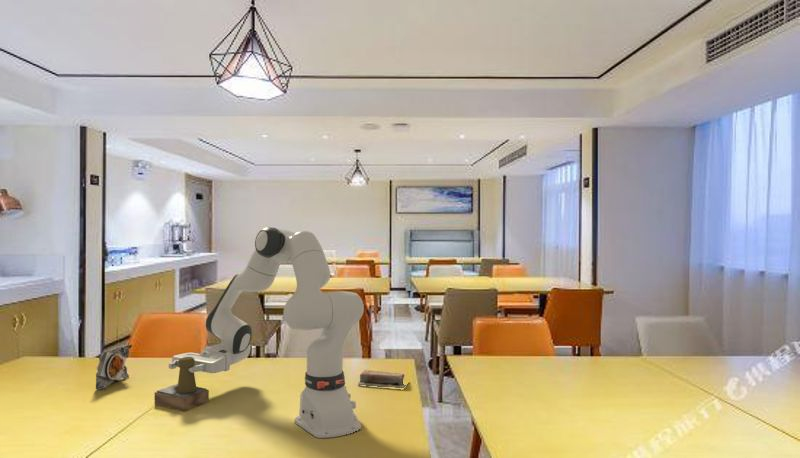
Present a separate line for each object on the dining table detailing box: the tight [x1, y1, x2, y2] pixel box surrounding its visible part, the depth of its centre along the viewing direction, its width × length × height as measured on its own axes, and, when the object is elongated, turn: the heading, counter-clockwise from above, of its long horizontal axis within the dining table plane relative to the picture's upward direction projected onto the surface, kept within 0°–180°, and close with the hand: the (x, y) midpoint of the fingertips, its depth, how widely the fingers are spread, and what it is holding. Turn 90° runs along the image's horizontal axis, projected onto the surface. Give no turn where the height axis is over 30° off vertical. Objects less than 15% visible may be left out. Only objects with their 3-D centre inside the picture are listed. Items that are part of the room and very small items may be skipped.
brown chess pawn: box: [177, 357, 197, 393], centre depth 167 cm, size 6×6×11 cm
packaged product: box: [357, 369, 406, 388], centre depth 189 cm, size 18×5×10 cm
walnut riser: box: [154, 383, 210, 412], centre depth 168 cm, size 10×14×4 cm
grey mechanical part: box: [95, 344, 133, 391], centre depth 188 cm, size 15×4×13 cm, turn 175°
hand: (179, 368), depth 167 cm, fingers open, 8 cm apart
